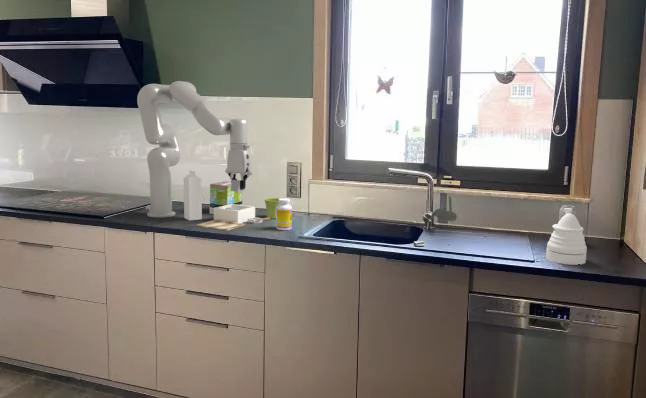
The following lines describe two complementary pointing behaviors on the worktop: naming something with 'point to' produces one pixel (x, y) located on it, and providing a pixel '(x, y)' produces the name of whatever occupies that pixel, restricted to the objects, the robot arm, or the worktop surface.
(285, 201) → the supplement bottle
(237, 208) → the grey block
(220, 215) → the bin
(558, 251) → the honey pot
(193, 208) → the milk
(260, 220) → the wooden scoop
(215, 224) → the tray
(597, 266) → the worktop surface
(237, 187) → the gray block
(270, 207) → the plant pot
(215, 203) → the tea box
